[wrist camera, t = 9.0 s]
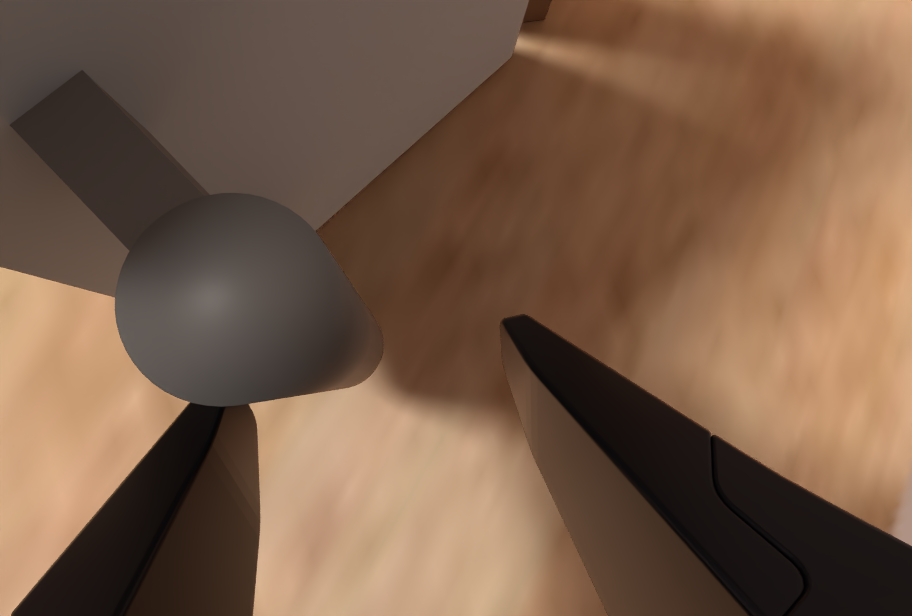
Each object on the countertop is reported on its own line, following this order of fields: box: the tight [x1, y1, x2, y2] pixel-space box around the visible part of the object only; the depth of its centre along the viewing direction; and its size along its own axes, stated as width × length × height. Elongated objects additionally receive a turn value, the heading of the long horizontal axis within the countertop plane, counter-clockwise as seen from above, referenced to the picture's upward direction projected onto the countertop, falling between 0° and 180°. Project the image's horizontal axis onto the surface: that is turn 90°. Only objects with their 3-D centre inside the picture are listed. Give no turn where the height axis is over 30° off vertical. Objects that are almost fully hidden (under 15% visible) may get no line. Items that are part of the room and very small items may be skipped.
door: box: [0, 0, 529, 407], centre depth 9 cm, size 6×12×14 cm, turn 135°
